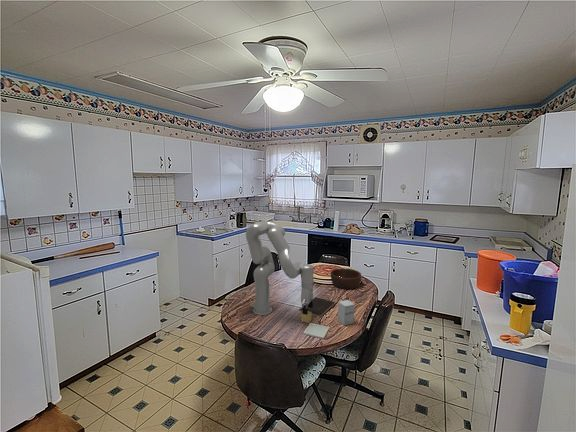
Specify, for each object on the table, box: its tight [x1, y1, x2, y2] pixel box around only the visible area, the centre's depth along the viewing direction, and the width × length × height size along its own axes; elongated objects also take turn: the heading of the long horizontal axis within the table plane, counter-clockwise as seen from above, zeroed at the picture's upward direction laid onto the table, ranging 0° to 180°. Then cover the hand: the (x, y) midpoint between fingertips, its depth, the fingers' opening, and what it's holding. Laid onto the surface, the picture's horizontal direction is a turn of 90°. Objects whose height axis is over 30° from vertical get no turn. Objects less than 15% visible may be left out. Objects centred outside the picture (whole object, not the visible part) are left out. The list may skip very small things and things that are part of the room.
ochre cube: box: [300, 311, 313, 324], centre depth 180 cm, size 5×5×5 cm
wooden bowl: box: [330, 267, 362, 290], centre depth 238 cm, size 25×25×10 cm
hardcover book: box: [298, 296, 335, 318], centre depth 197 cm, size 16×23×2 cm
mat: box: [302, 322, 330, 340], centre depth 167 cm, size 12×12×1 cm
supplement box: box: [337, 299, 355, 326], centre depth 178 cm, size 7×7×13 cm
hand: (307, 310), depth 179 cm, fingers open, 9 cm apart
